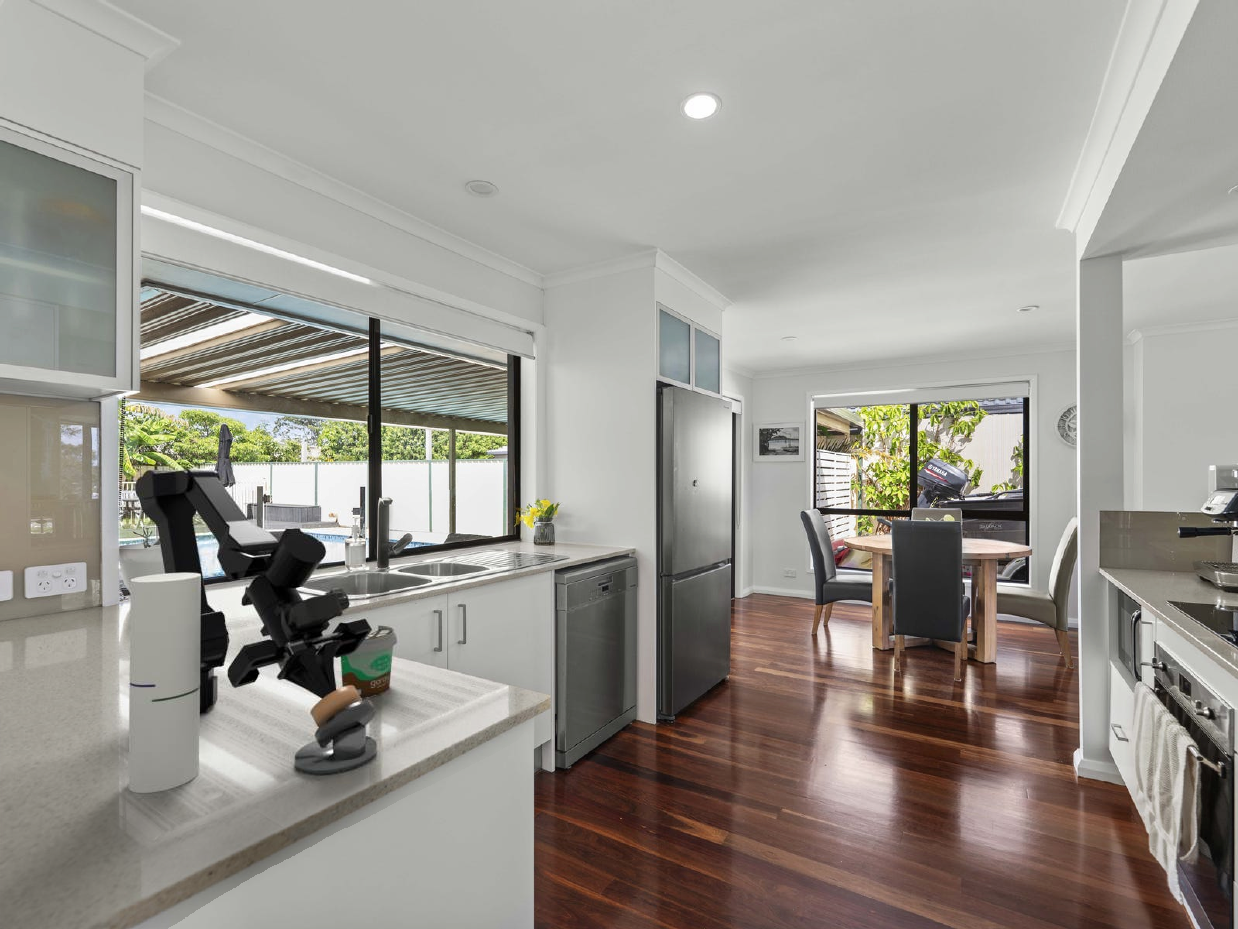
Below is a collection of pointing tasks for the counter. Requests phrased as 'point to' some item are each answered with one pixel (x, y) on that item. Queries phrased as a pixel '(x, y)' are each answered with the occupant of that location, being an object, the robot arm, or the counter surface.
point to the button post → (340, 742)
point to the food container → (370, 663)
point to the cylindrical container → (164, 681)
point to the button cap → (334, 703)
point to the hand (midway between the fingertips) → (333, 699)
